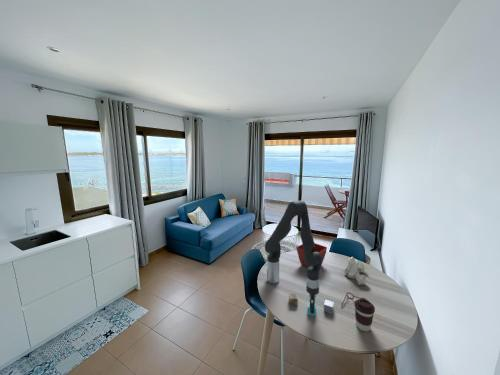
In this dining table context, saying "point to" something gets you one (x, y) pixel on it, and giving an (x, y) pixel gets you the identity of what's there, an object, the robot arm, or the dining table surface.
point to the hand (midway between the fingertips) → (312, 308)
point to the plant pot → (317, 248)
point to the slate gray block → (328, 306)
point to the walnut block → (293, 299)
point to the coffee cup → (364, 314)
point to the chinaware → (356, 271)
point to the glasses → (351, 298)
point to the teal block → (309, 310)
